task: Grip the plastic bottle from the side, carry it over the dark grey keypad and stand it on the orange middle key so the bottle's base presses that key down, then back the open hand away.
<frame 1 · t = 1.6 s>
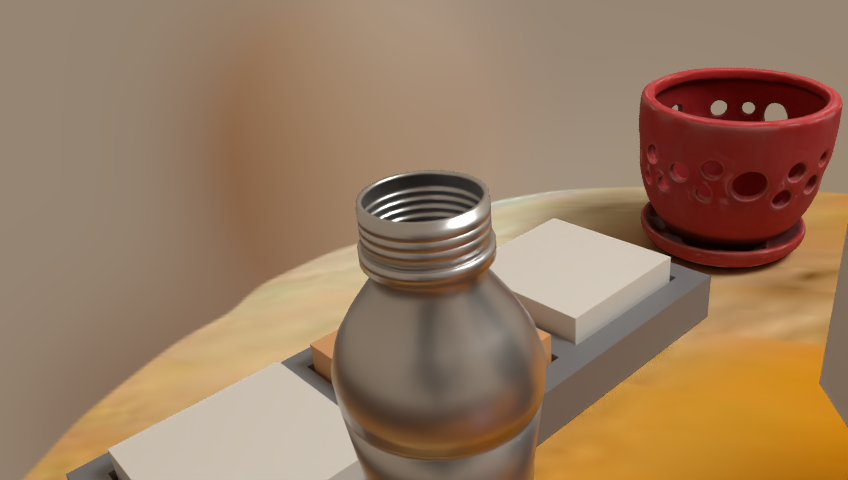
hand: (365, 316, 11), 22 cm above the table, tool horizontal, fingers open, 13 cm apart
pale key 2: (248, 461, 36), point 3 cm above the table, slide at 0.0 cm
pale key 1: (563, 275, 49), point 4 cm above the table, slide at 0.0 cm
orange key: (430, 354, 42), point 3 cm above the table, slide at 0.0 cm
keypad frame: (435, 404, 44), on the table
plant pot: (723, 244, 58), on the table
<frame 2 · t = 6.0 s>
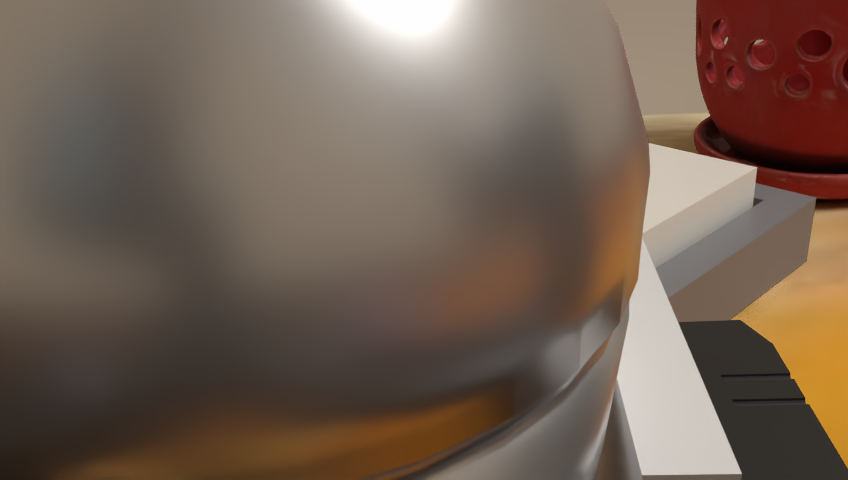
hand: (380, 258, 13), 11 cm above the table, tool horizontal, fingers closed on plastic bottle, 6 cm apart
pale key 1: (593, 197, 32), point 3 cm above the table, slide at 0.0 cm
keypad frame: (393, 385, 28), on the table
plant pot: (808, 175, 42), on the table
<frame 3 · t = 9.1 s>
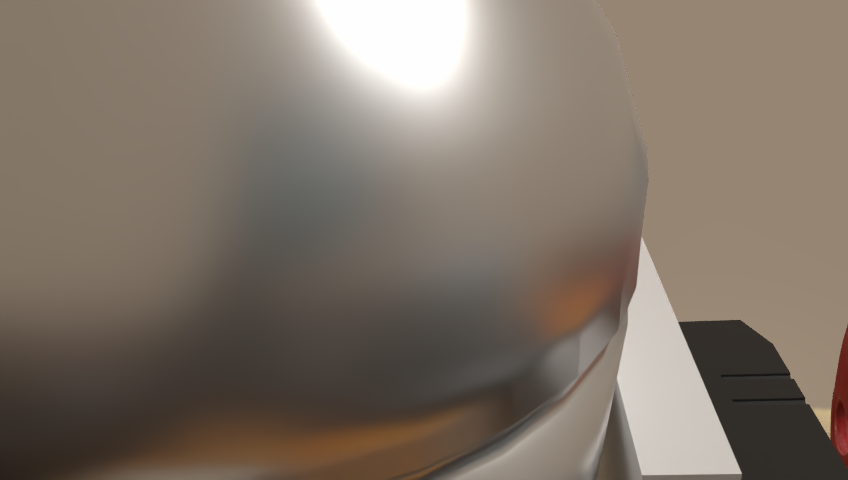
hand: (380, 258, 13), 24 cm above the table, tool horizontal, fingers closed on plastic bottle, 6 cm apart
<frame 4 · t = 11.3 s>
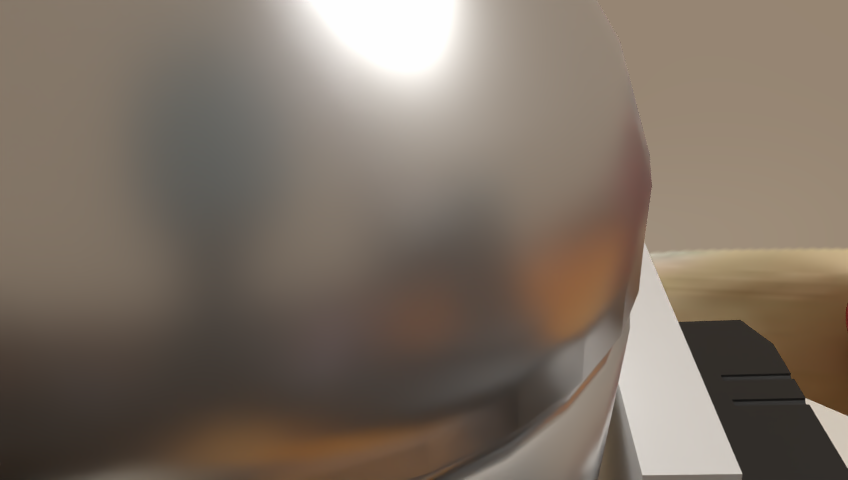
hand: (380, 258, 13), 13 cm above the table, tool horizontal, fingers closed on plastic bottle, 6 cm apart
when the fingers open (13 cm above the table, at t = 12.2 s): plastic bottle stays where it is, resting on orange key.
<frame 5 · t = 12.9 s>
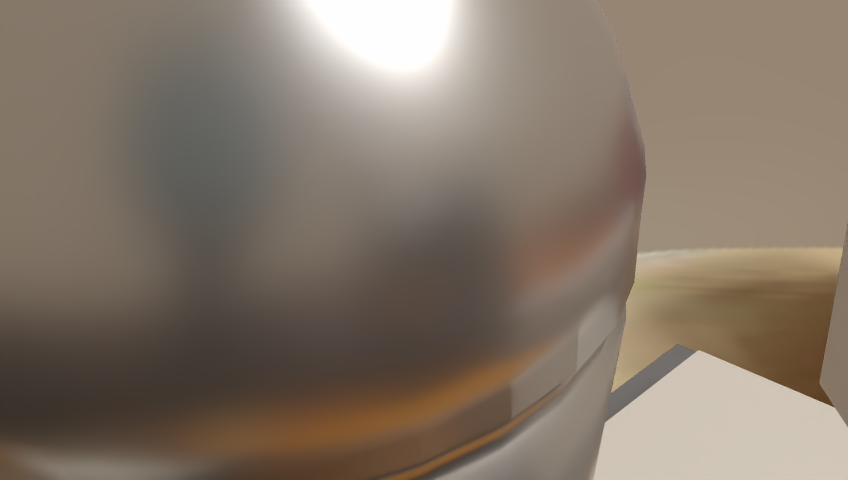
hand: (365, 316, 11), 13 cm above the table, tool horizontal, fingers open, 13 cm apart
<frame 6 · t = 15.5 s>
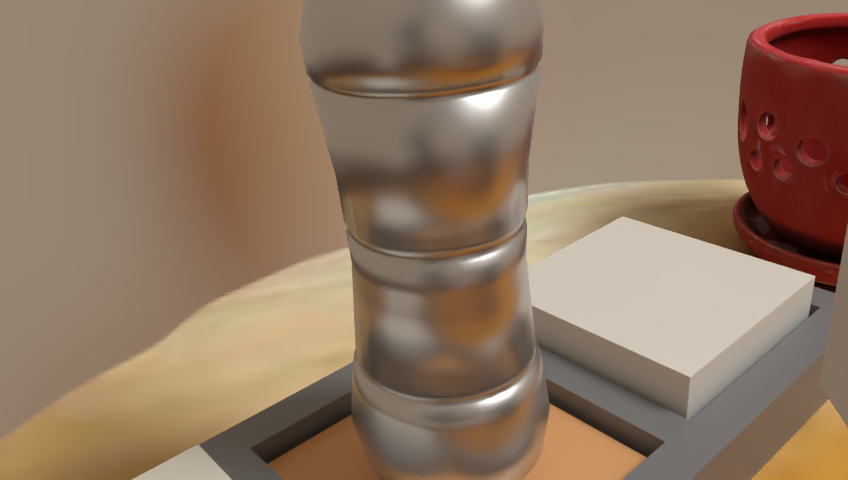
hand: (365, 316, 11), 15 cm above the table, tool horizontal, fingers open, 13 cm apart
pale key 1: (648, 302, 32), point 3 cm above the table, slide at 0.0 cm
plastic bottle: (454, 466, 26), point 2 cm above the table, touching orange key
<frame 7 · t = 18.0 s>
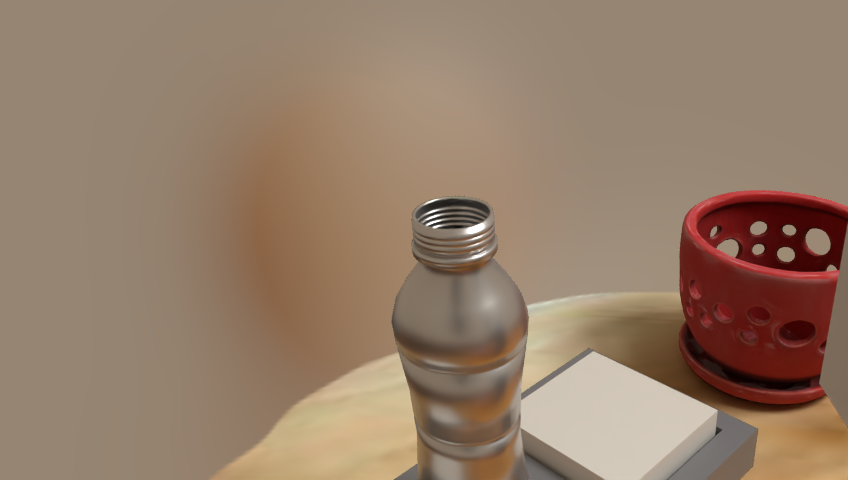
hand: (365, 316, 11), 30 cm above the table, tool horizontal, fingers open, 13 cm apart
pale key 1: (606, 425, 48), point 3 cm above the table, slide at 0.0 cm
plant pot: (763, 370, 57), on the table
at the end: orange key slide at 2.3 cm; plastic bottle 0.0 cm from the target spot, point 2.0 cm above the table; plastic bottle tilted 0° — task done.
